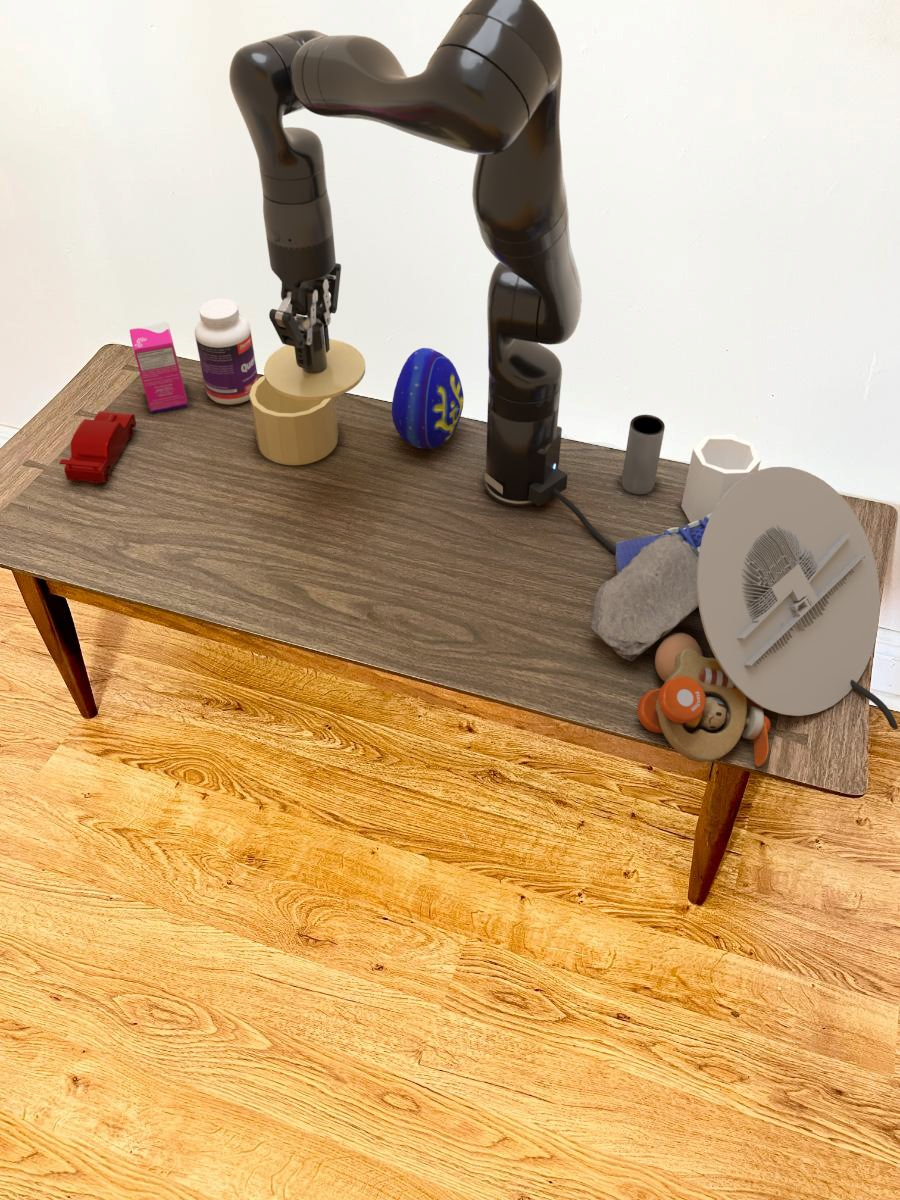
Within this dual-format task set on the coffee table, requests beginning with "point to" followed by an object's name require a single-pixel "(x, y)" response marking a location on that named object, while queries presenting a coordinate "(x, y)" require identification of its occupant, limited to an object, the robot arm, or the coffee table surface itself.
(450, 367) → the ornament
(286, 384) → the lid
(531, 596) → the coffee table surface
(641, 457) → the grey hollow tube
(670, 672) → the egg
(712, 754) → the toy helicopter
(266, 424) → the pot
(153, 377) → the supplement box
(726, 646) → the plate
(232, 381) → the pill bottle
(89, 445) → the toy car
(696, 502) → the mug
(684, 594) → the stone
